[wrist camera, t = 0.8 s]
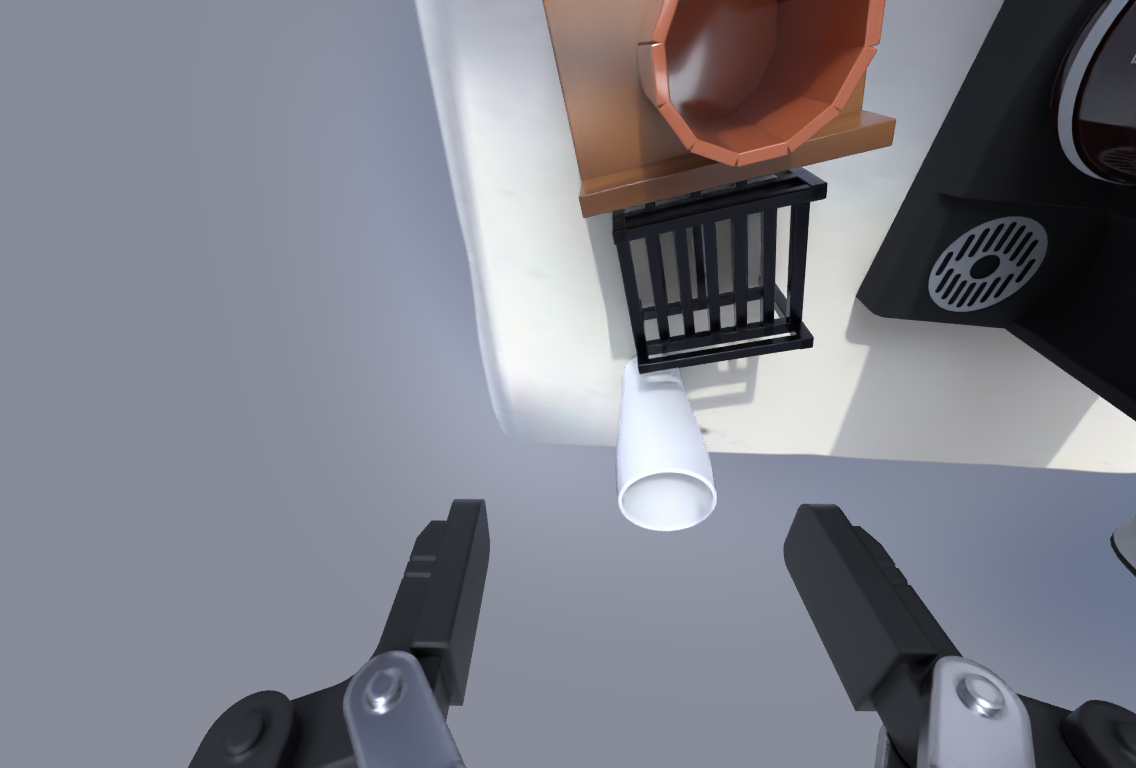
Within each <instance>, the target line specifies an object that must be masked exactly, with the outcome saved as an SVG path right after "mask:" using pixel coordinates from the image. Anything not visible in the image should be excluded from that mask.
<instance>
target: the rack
mask: <svg viewBox="0 0 1136 768" xmlns="http://www.w3.org/2000/svg"><path fill="white" fill-rule="evenodd" d="M773 174H774V175H776V176H777V177H776V178H772V179H768V180H764V181H759V182H755V183H751V184H747V180H743V181H739V182H735V183H734V188H729V189H725V190H721V191H716V192H712V193H708V194H703V195H700V191H696V192H692V193H688V195H689V198H686V199H682V200H678V201H673V202H669V203H665V204H661V205H656V206H655V201H654V202H650V203H646V204H645V208H643V209H639V210H635V211H631V212H626V213H625V208H624V209H620V210H616V211H612V235H613V240H614V244H615V245H616V246H617V251H618V257H619V262H620V267H621V272H622V278H623V283H624V288H625V294H626V299H627V304H628V310H629V315H630V320H631V325H632V331H633V336H634V341H635V347H636V355H637V365H638V371H639V374H645V373H650V372H655V371H662V370H668V369H675V368H681V367H687V366H694V365H700V364H706V363H713V362H719V361H725V360H732V359H738V358H745V357H751V356H757V355H764V354H770V353H776V352H783V351H789V350H795V349H805V348H812V347H813V341H814V337H813V336H812V334H811V333H810V331H809V330H808V329H807V327H806V326H805V324H804V323H803V322H802V311H803V297H804V283H805V268H806V254H807V240H808V226H809V211H810V202H812V201H817V200H821V199H825V198H826V195H827V182H825V181H823V180H822V179H820V178H819V177H817V176H815V175H814V174H812V173H811V172H809V171H807V170H806V169H804V168H802V167H798V168H794V169H790V170H786V171H781V172H777V173H773ZM790 205H791V220H790V242H789V264H788V285H787V299H786V298H785V296H784V295H783V293H782V292H781V291H780V289H779V288H778V286H777V285H776V284H775V266H776V231H777V208H780V207H785V206H790ZM758 212H761V274H760V276H759V287H754V288H748V229H747V215H749V214H753V213H758ZM726 219H731V243H732V274H733V291H732V292H727V293H722V294H719V284H718V265H717V246H716V227H715V222H717V221H721V220H726ZM690 227H691V231H692V242H693V254H694V266H695V278H696V289H697V298H695V299H692V293H691V282H690V272H689V261H688V250H687V239H686V228H690ZM671 231H673V240H674V249H675V258H676V267H677V276H678V285H679V294H680V301H679V302H674V303H668V299H667V291H666V284H665V276H664V268H663V260H662V253H661V245H660V237H659V234H662V233H667V232H671ZM644 237H645V243H646V250H647V257H648V263H649V270H650V277H651V284H652V290H653V297H654V304H655V306H652V307H647V308H642V303H641V300H639V295H638V289H637V283H636V277H635V271H634V265H633V259H632V253H631V248H630V242H629V241H631V240H635V239H640V238H644ZM758 299H760V322H755V323H749V324H747V302H748V301H753V300H758ZM731 304H733V305H734V326H731V327H726V328H721V322H720V306H725V305H731ZM703 309H707V313H708V327H709V330H708V331H702V332H697V333H695V326H694V315H693V311H698V310H703ZM774 309H775V311H776V313H777V314H778V316H779V317H780V318H778V319H774ZM681 313H682V321H683V330H684V335H679V336H673V337H670V333H669V325H668V318H667V316H670V315H676V314H681ZM654 318H657V324H658V331H659V337H660V339H656V340H650V341H647V340H646V332H645V324H644V320H648V319H654ZM783 333H790V335H791V336H785V337H779V338H773V339H767V340H761V341H754V342H748V343H742V344H736V345H730V346H724V347H718V348H712V349H706V350H699V351H693V352H687V353H681V354H675V355H669V356H663V357H657V358H651V359H649V356H650V355H656V354H662V353H668V352H674V351H680V350H686V349H692V348H698V347H704V346H710V345H717V344H723V343H729V342H735V341H741V340H747V339H753V338H759V337H765V336H771V335H777V334H783Z"/></svg>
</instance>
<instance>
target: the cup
mask: <svg viewBox="0 0 1136 768" xmlns="http://www.w3.org/2000/svg"><path fill="white" fill-rule="evenodd" d="M884 6H885V0H649V2H648V6H647V9H646V12H645V15H644V17H643V20H642V24H641V28H640V32H639V36H638V39H637V43H638V46H636V49H637V59H638V69H639V75H640V81H641V87H642V88H643V92H644V93H645V95H646V96H647V97H648V99H649V100H650V101H651V103H652V104H653V106H654V107H655V108H656V110H657V111H658V112H659V114H660V115H661V117H662V118H663V119H664V120H665V122H666V123H667V124H668V126H669V127H670V128H671V129H672V131H673V132H674V133H675V135H676V136H677V137H678V138H679V140H680V141H681V142H682V144H683V145H684V146H685V147H686V149H689V150H690V151H691V153H694V154H697V155H700V156H703V157H706V158H709V159H711V160H714V161H717V162H720V163H723V164H726V165H729V166H732V167H734V166H735V165H736V166H738V167H740V166H744V165H749V164H753V163H757V162H761V161H765V160H769V159H773V158H777V157H782V156H786V155H787V154H788V151H789V152H793V151H794V150H796V149H797V148H798V147H799V146H801V145H802V144H803V143H804V142H806V141H807V140H808V139H809V138H811V137H812V136H813V135H814V134H816V133H817V132H818V131H819V130H821V129H822V128H823V127H824V126H825V125H827V124H828V123H829V122H830V121H832V120H833V119H834V118H835V117H837V116H838V115H839V113H838V111H837V109H838V110H843V109H844V107H845V105H846V104H847V102H848V100H849V98H850V97H851V95H852V93H853V91H854V90H855V88H856V86H857V84H858V83H859V81H860V79H861V77H862V76H863V74H864V72H865V70H866V69H867V67H868V65H869V64H870V62H871V60H872V58H873V57H874V55H875V53H876V51H877V49H876V48H873V47H872V46H875V45H878V44H879V43H880V36H881V29H882V21H883V13H884Z"/></svg>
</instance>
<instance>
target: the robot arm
mask: <svg viewBox="0 0 1136 768" xmlns="http://www.w3.org/2000/svg"><path fill="white" fill-rule="evenodd" d="M489 553H490V538H489V529H488V521H487V513H486V505H485V501H484V499H455V500H454V501H453V503H452V506H451V509H450V512H449V515H448V519H447V521H431V522H430V523H429V524H428V525H427V527H426V528H425V529H424V530H423V531H422V532H421V534H420V535H419V536H418V537H417V539H416V542H415V545H414V547H413V551H412V553H411V556H410V561H409V562H408V564H407V567H406V570H405V572H404V578H403V579H402V581H401V584H400V586H399V589H398V592H397V595H396V597H395V600H394V603H393V606H392V609H391V611H390V614H389V617H388V620H387V622H386V625H385V628H384V631H383V634H382V636H381V639H380V642H379V644H378V646H377V649H376V650H375V652H374V654H373V655H372V657H371V658H370V659H369V661H368V662H367V663H365V664H364V665H363V666H362V667H361V668H360V669H359V670H358V672H357V673H356V674H355V675H353V676H351V677H350V678H349V679H347V680H345V681H343V682H342V683H340V684H337V685H335V686H333V687H329V688H326V689H323V690H320V691H317V692H314V693H312V694H309V695H306V696H303V697H300V698H297V699H294V700H291V701H290V700H289V699H288V698H287V697H286V696H285V695H284V694H282V693H280V692H277V691H269V690H268V691H261V692H257V693H254V694H251V695H249V696H247V697H245V698H243V699H241V700H240V701H238V702H237V703H235V704H234V705H232V706H231V707H230V708H229V709H227V711H225V712H224V713H223V714H222V715H221V716H220V717H219V718H218V719H217V720H216V721H215V722H214V724H213V725H212V727H211V728H210V729H209V730H208V732H207V734H206V735H205V737H204V739H203V741H202V742H201V744H200V746H199V748H198V750H197V752H196V754H195V755H194V757H193V759H192V761H191V763H190V765H189V767H188V768H466V766H465V764H464V762H463V760H462V758H461V755H460V753H459V750H458V748H457V746H456V744H455V741H454V739H453V737H452V735H451V732H450V730H449V728H448V726H447V724H446V719H447V714H448V709H449V705H456V706H457V705H459V706H461V705H463V702H464V696H465V690H466V685H467V679H468V674H469V668H470V663H471V657H472V652H473V646H474V640H475V635H476V630H477V624H478V618H479V613H480V607H481V602H482V596H483V591H484V585H485V579H486V574H487V568H488V561H489ZM784 559H785V563H786V566H787V569H788V571H789V573H790V575H791V577H792V579H793V581H794V583H795V586H796V588H797V590H798V592H799V594H800V596H801V598H802V600H803V602H804V604H805V606H806V609H807V611H808V613H809V615H810V617H811V619H812V621H813V623H814V625H815V627H816V629H817V632H818V633H819V636H820V638H821V640H822V641H823V644H824V646H825V648H826V650H827V652H828V654H829V657H830V658H831V660H832V662H833V665H834V667H835V669H836V671H837V673H838V675H839V677H840V679H841V682H842V683H843V686H844V688H845V690H846V692H847V694H848V696H849V698H850V700H851V702H852V705H853V706H854V709H855V711H877V712H878V714H879V716H880V718H881V720H882V722H883V725H882V726H881V728H880V731H879V737H878V744H877V753H876V759H875V767H874V768H1136V714H1135V713H1133V712H1131V711H1129V710H1127V709H1125V708H1123V707H1121V706H1118V705H1115V704H1113V703H1109V702H1106V701H1100V700H1091V701H1087V702H1085V703H1084V704H1083V705H1081V706H1080V707H1079V708H1077V709H1076V710H1075V711H1070V710H1066V709H1063V708H1060V707H1057V706H1054V705H1051V704H1048V703H1044V702H1041V701H1038V700H1035V699H1032V698H1029V697H1026V696H1023V695H1020V694H1017V693H1015V692H1014V691H1013V690H1012V688H1011V687H1010V686H1009V685H1008V684H1007V683H1006V682H1005V681H1003V680H1002V679H1001V678H1000V677H998V676H997V675H996V674H995V673H993V672H992V671H991V670H989V669H988V668H986V667H984V666H982V665H981V664H979V663H977V662H974V661H972V660H970V659H967V658H964V657H963V656H962V655H961V654H960V652H959V651H958V650H957V649H956V647H955V646H954V644H953V643H952V642H951V640H950V639H949V638H948V636H947V635H946V633H945V632H944V631H943V629H942V628H941V626H940V625H939V624H938V622H937V621H936V620H935V619H934V617H933V615H932V614H931V613H930V611H929V610H928V609H927V607H926V606H925V604H924V603H923V602H922V600H921V599H920V597H919V596H918V595H917V593H916V592H915V591H914V589H913V588H912V587H911V585H908V583H907V580H906V578H905V577H904V575H903V574H902V573H901V571H900V570H899V569H898V568H896V567H895V563H894V562H893V560H892V559H891V558H890V556H889V555H888V553H887V552H886V551H885V549H884V548H883V546H882V545H881V544H880V543H879V542H877V540H875V539H874V538H873V537H872V536H871V535H870V534H868V533H867V532H866V531H865V530H863V529H862V528H861V527H860V526H852V525H851V523H850V522H849V520H848V519H847V517H846V516H845V515H844V513H843V512H842V510H841V509H840V508H839V507H838V506H837V505H834V504H802V505H800V507H799V508H798V510H797V513H796V515H795V518H794V520H793V523H792V525H791V528H790V530H789V533H788V535H787V538H786V540H785V543H784Z"/></svg>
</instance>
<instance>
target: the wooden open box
mask: <svg viewBox="0 0 1136 768" xmlns="http://www.w3.org/2000/svg"><path fill="white" fill-rule="evenodd" d="M648 2H649V0H543V5H544V10H545V14H546V19H547V24H548V28H549V33H550V37H551V42H552V47H553V51H554V56H555V60H556V65H557V70H558V74H559V79H560V83H561V88H562V93H563V97H564V102H565V107H566V111H567V116H568V120H569V125H570V130H571V134H572V139H573V143H574V148H575V153H576V157H577V162H578V166H579V171H580V176H581V180H582V183H581V188H580V194H579V201H580V206H581V210H582V214H583V218H586V217H590V216H595V215H599V214H603V213H607V212H612V211H616V210H620V209H624V208H629V207H633V206H637V205H641V204H646V203H650V202H654V201H658V200H663V199H667V198H671V197H675V196H679V195H684V194H688V193H692V192H696V191H701V190H705V189H709V188H713V187H718V186H722V185H726V184H730V183H735V182H739V181H743V180H747V179H752V178H756V177H760V176H764V175H769V174H773V173H777V172H781V171H786V170H790V169H794V168H798V167H803V166H807V165H811V164H815V163H820V162H824V161H828V160H832V159H837V158H841V157H845V156H849V155H853V154H858V153H862V152H866V151H870V150H875V149H879V148H883V147H887V146H891V145H892V141H893V135H894V129H895V123H896V119H895V118H891V117H887V116H883V115H879V114H875V113H871V112H867V111H863V110H862V103H863V94H864V86H865V78H866V70H867V69H866V70H865V72H864V74H863V76H862V77H861V79H860V81H859V83H858V84H857V86H856V88H855V90H854V91H853V93H852V95H851V97H850V98H849V100H848V102H847V104H846V105H845V107H844V109H843V110H838V109H837V111H838V113H839V115H838V116H837V117H835V118H834V119H833V120H832V121H830V122H829V123H828V124H827V125H825V126H824V127H823V128H822V129H821V130H819V131H818V132H817V133H816V134H814V135H813V136H812V137H811V138H809V139H808V140H807V141H806V142H804V143H803V144H802V145H801V146H799V147H798V148H797V149H796V150H794V151H793V152H789V151H788V154H787V155H786V156H782V157H777V158H773V159H769V160H765V161H761V162H757V163H753V164H749V165H744V166H740V167H738V166H736V165H735V166H734V167H732V166H729V165H726V164H723V163H720V162H717V161H714V160H711V159H709V158H706V157H703V156H700V155H697V154H694V153H691V151H690V150H689V149H686V147H685V146H684V145H683V144H682V142H681V141H680V140H679V138H678V137H677V136H676V135H675V133H674V132H673V131H672V129H671V128H670V127H669V126H668V124H667V123H666V122H665V120H664V119H663V118H662V117H661V115H660V114H659V112H658V111H657V110H656V108H655V107H654V106H653V104H652V103H651V101H650V100H649V99H648V97H647V96H646V95H645V93H644V92H643V88H642V87H641V81H640V75H639V69H638V59H637V49H636V46H638V43H637V39H638V36H639V32H640V28H641V24H642V20H643V17H644V15H645V12H646V9H647V6H648Z"/></svg>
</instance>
